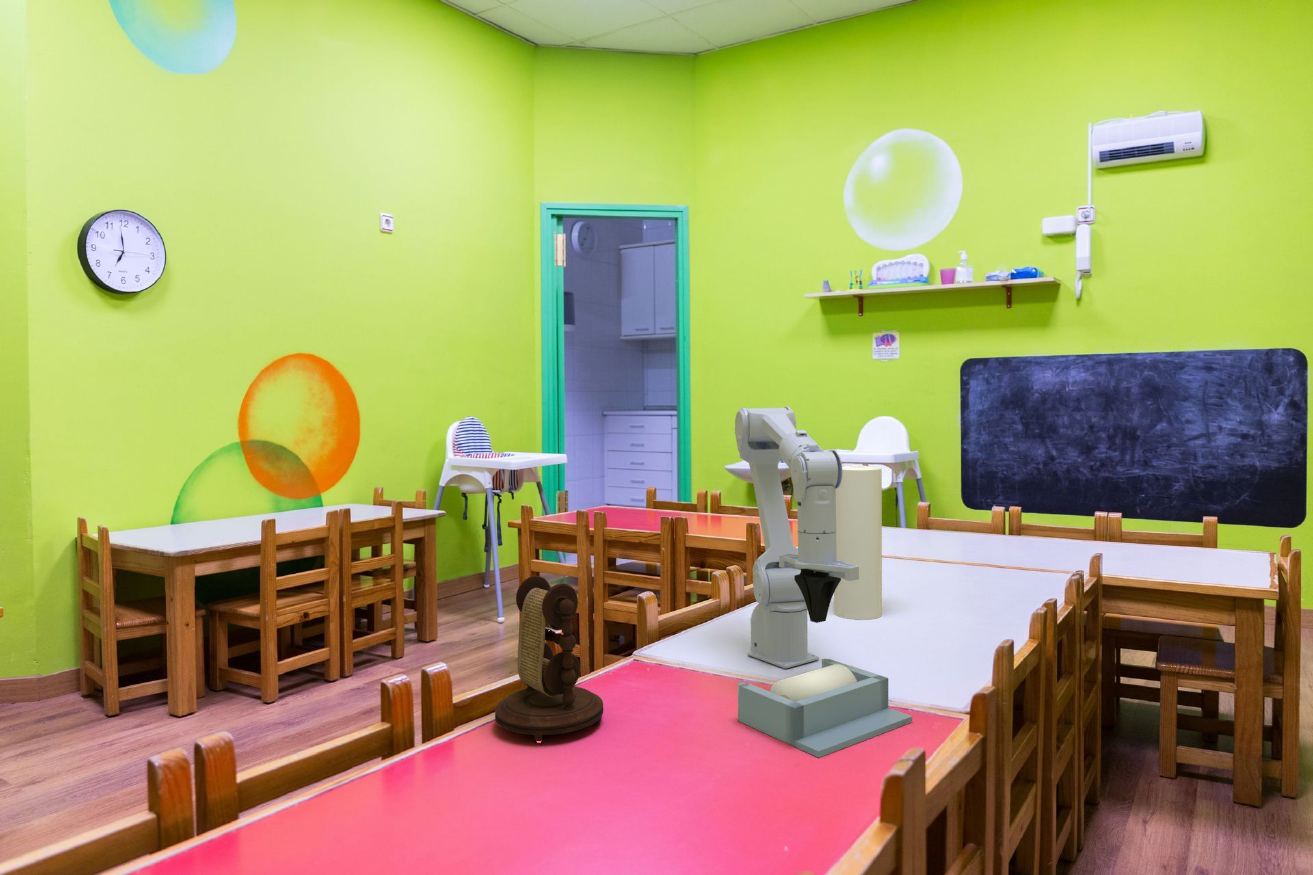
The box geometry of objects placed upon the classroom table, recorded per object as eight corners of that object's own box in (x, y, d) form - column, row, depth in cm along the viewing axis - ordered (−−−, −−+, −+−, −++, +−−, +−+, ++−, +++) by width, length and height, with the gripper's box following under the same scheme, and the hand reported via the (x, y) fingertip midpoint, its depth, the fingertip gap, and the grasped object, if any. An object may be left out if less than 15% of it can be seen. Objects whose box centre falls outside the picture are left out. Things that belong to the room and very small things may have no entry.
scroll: (475, 722, 117) (471, 579, 116) (564, 696, 126) (561, 564, 125) (532, 756, 105) (528, 598, 104) (625, 725, 115) (622, 580, 114)
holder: (735, 719, 116) (735, 683, 116) (827, 690, 127) (826, 657, 127) (818, 757, 104) (818, 717, 103) (912, 721, 114) (912, 685, 114)
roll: (779, 671, 113) (761, 701, 117) (808, 709, 109) (788, 739, 113) (838, 654, 120) (819, 683, 123) (867, 689, 116) (847, 718, 119)
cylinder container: (883, 620, 165) (883, 467, 163) (834, 618, 167) (833, 467, 165) (880, 608, 174) (880, 463, 173) (833, 606, 176) (833, 463, 175)
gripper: (764, 528, 130) (765, 616, 131) (834, 539, 118) (836, 635, 119) (797, 524, 134) (798, 609, 135) (868, 534, 123) (869, 627, 123)
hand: (818, 621), depth 127 cm, fingers closed
